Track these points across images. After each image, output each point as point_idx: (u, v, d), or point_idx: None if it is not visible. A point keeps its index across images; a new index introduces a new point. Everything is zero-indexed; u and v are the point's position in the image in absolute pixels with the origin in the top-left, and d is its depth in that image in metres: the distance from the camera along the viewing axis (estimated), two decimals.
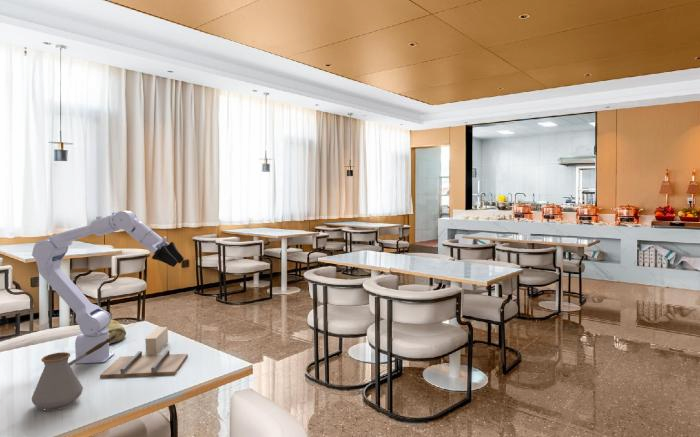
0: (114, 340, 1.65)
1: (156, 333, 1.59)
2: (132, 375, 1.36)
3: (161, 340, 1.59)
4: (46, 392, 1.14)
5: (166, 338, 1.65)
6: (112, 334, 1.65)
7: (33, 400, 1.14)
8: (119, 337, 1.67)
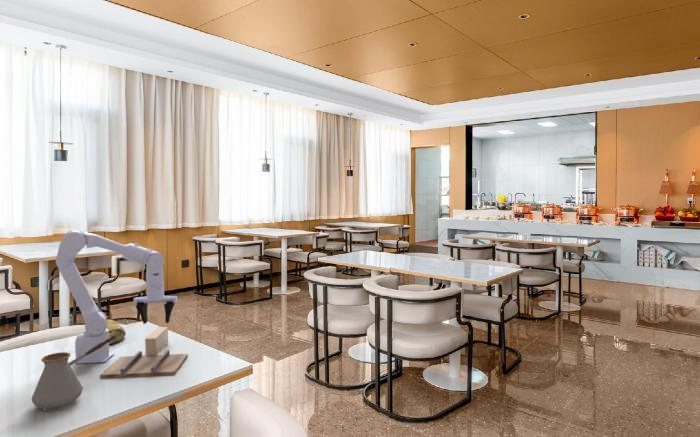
0: (114, 340, 1.65)
1: (156, 333, 1.59)
2: (132, 375, 1.36)
3: (161, 340, 1.59)
4: (46, 392, 1.14)
5: (166, 338, 1.65)
6: (112, 334, 1.65)
7: (33, 400, 1.14)
8: (119, 337, 1.67)
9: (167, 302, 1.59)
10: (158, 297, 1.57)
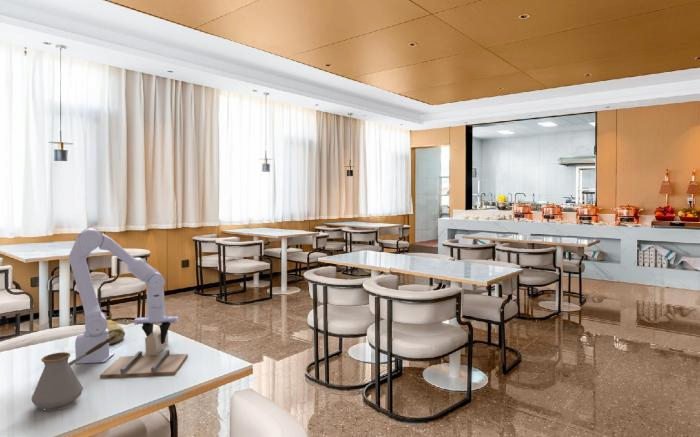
0: (113, 341, 1.64)
1: (156, 332, 1.59)
2: (132, 375, 1.36)
3: None
4: (46, 392, 1.14)
5: (166, 337, 1.65)
6: (111, 335, 1.64)
7: (33, 400, 1.14)
8: (118, 338, 1.66)
9: (168, 323, 1.59)
10: (159, 318, 1.57)
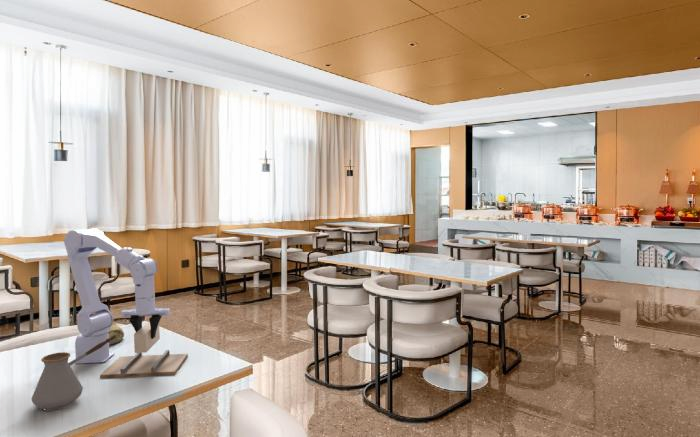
0: (112, 341, 1.64)
1: (147, 328, 1.44)
2: (132, 375, 1.36)
3: None
4: (46, 392, 1.14)
5: (157, 333, 1.50)
6: (110, 335, 1.64)
7: (33, 400, 1.14)
8: None
9: (158, 315, 1.43)
10: (148, 310, 1.42)
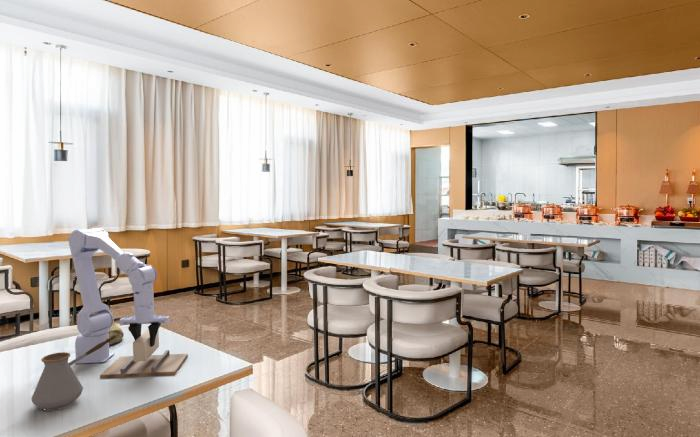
0: (112, 342, 1.63)
1: (146, 336, 1.43)
2: (132, 375, 1.36)
3: None
4: (46, 392, 1.14)
5: (156, 341, 1.48)
6: (110, 336, 1.63)
7: (33, 400, 1.14)
8: (117, 339, 1.65)
9: (157, 323, 1.42)
10: (147, 318, 1.40)
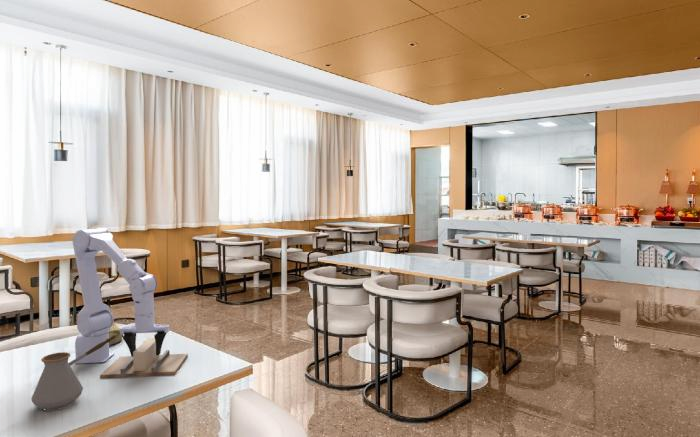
0: (112, 342, 1.63)
1: (146, 345, 1.43)
2: (132, 375, 1.36)
3: (151, 353, 1.43)
4: (46, 392, 1.14)
5: None
6: (109, 336, 1.63)
7: (33, 400, 1.14)
8: None
9: (158, 332, 1.42)
10: (148, 327, 1.40)
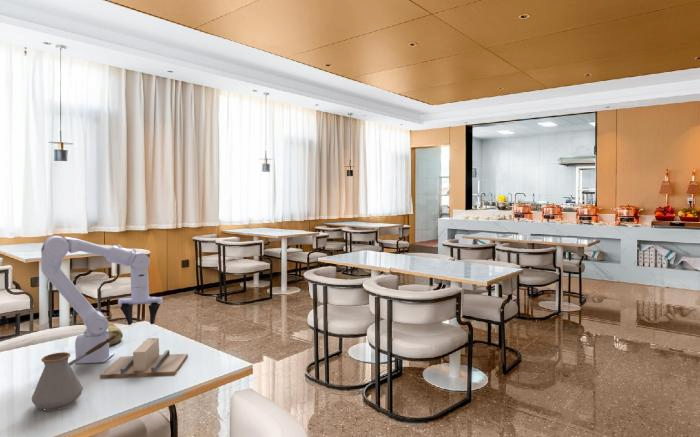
0: (111, 342, 1.63)
1: (146, 345, 1.43)
2: (132, 375, 1.36)
3: (151, 353, 1.43)
4: (46, 392, 1.14)
5: (157, 350, 1.49)
6: (109, 336, 1.63)
7: (33, 400, 1.14)
8: None
9: (152, 303, 1.57)
10: (142, 298, 1.56)
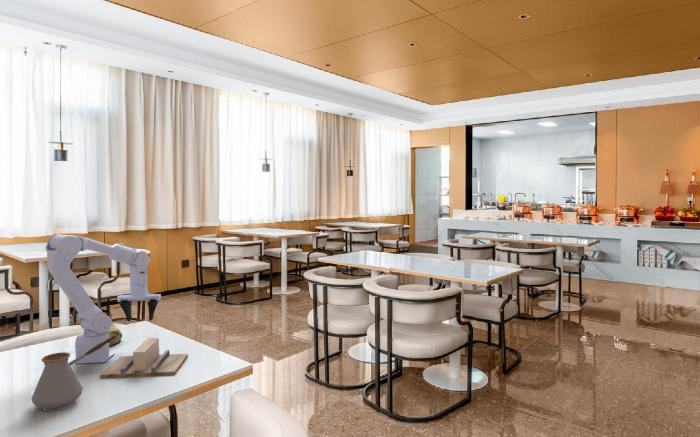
0: (111, 343, 1.62)
1: (146, 345, 1.43)
2: (132, 375, 1.36)
3: (151, 353, 1.43)
4: (46, 392, 1.14)
5: (157, 350, 1.49)
6: None
7: (33, 400, 1.14)
8: (115, 340, 1.64)
9: (150, 300, 1.62)
10: (141, 295, 1.60)
